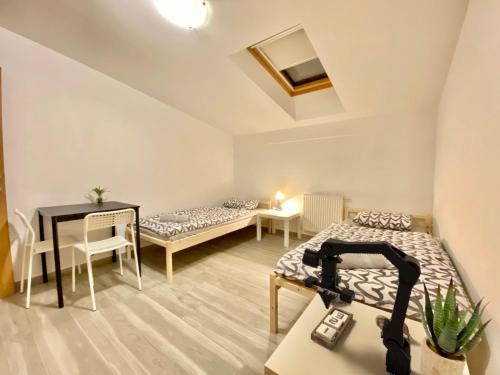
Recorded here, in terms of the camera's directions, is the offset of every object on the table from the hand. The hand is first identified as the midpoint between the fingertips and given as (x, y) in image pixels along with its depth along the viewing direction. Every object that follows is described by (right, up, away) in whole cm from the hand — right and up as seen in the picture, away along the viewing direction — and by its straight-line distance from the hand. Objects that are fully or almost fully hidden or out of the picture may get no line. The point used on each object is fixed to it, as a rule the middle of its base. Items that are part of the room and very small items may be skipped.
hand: (327, 308), depth 87 cm
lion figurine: (+27, -13, +2) cm, 30 cm away
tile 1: (0, -10, 0) cm, 10 cm away
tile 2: (+5, -10, +6) cm, 13 cm away
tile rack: (+5, -12, +6) cm, 14 cm away
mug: (+14, -11, +26) cm, 32 cm away
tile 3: (+10, -11, +12) cm, 19 cm away
